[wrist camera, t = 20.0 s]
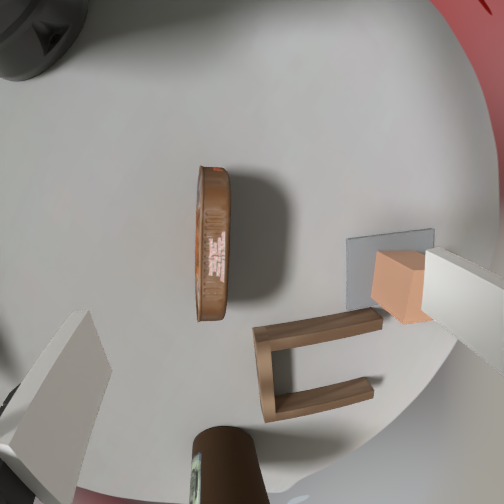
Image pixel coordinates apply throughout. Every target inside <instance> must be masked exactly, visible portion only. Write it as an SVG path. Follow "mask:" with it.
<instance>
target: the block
mask: <svg viewBox="0 0 504 504" xmlns="http://www.w3.org/2000/svg"><path fill="white" fill-rule="evenodd" d="M424 272H425V255H424V254H422V253H419V252H417V251H377V253H376V262H375V270H374V277H373V284H372V291H371V298H372V299H373V300H374V301H376V302H377V303H378V304H379V305H380V306H382V307H383V308H384V309H385V310H386V311H388V312H389V313H390V314H391V315H392V316H393V317H395V318H396V319H397V320H398V321H399V322H400V323H402V324H403V325H404V324H411V323H418V322H424V321H431V320H433V319H432V318H431V317H430V316H428V315H427V314H426V313H424V312H423V311H422V310H421V307H422V297H423V286H424Z"/></svg>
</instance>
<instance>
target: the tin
mask: <svg viewBox="0 0 504 504" xmlns="http://www.w3.org/2000/svg"><path fill="white" fill-rule="evenodd" d="M230 216H231V191H230V180H229V175H228V173H227V171H226V170H225V169H224V168H219V167H203V166H200V169H199V177H198V186H197V210H196V247H195V291H196V309H197V321H198V322H200V321H218V320H222V319H223V318H224V316H225V313H226V305H227V292H228V269H229V246H230Z"/></svg>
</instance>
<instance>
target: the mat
mask: <svg viewBox="0 0 504 504" xmlns="http://www.w3.org/2000/svg"><path fill="white" fill-rule="evenodd" d="M433 242H434V229H432V228H431V229H423V230H414V231H406V232H398V233H390V234H381V235H373V236H365V237H357V238H348V239H347V305H346V309H347V310H353V309H358V308H363V307H368V306H373V305H378V303H377V302H376V301H374V300H373V299H372V298H371V291H372V284H373V277H374V270H375V262H376V253H377V251H417V252H419V253H422V254H424V255H425V254H426V250H428V249H432V248H433Z"/></svg>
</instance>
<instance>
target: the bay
mask: <svg viewBox="0 0 504 504" xmlns="http://www.w3.org/2000/svg"><path fill="white" fill-rule="evenodd" d="M382 324H383V318H382V317H381V316H380V315H379V314H377V313H376V312H375V311H374V310H373V309H372V308H371V307H369V308H364V309H359V310H354V311H349V312H344V313H339V314H334V315H328V316H323V317H317V318H312V319H306V320H300V321H294V322H288V323H282V324H275V325H269V326H262V327H255V328H252V329H253V338H254V347H255V356H256V366H257V375H258V384H259V393H260V402H261V408H262V413H263V417H264V421H265V423H268V422H274V421H279V420H285V419H290V418H295V417H300V416H305V415H310V414H314V413H319V412H323V411H327V410H331V409H335V408H339V407H343V406H347V405H351V404H354V403H358V402H361V401H365V400H368V399H372V398H373V396H374V389H373V388H372V386H371V385H370V384H369V382H368V381H367V380H366V378H365V377H362V378H358V379H354V380H350V381H346V382H342V383H338V384H334V385H329V386H325V387H321V388H316V389H311V390H306V391H302V392H296V393H291V394H286V395H280V396H275V397H274V385H273V372H272V360H271V351H278V350H284V349H289V348H295V347H301V346H306V345H312V344H317V343H322V342H327V341H332V340H337V339H341V338H346V337H351V336H355V335H360V334H364V333H368V332H372V331H377V330H381V329H382Z"/></svg>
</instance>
